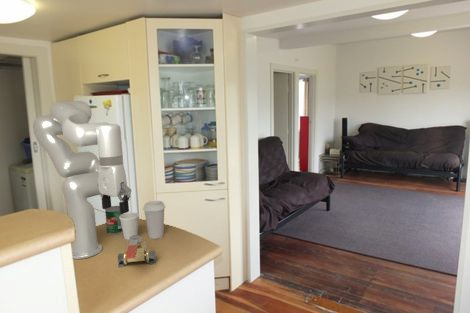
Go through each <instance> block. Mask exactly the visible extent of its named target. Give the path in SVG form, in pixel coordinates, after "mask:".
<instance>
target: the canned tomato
mask: <svg viewBox="0 0 470 313" xmlns="http://www.w3.org/2000/svg"><path fill="white" fill-rule="evenodd" d="M104 211H105V225H106V233H107V234H109V235H119V234H121V233H123V230H122V225H121V221H120V218H119V217H120V216H121V215H122V214H120V208H119V205H111V207H110V208H107V209H104Z"/></svg>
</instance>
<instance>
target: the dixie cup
mask: <svg viewBox="0 0 470 313" xmlns="http://www.w3.org/2000/svg"><path fill="white" fill-rule="evenodd" d="M139 217H140V213H138V212H127V213H124V214H122V215H121V216H120V217H119V218H120V221H121V225H122V230H123V232H122V233H123V235H122V236H123V238H124V239H125V240H129V238H130V237H131V236H134V235H139V233H138V232H139V219H140V218H139Z"/></svg>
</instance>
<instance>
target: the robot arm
mask: <svg viewBox="0 0 470 313" xmlns="http://www.w3.org/2000/svg"><path fill="white" fill-rule="evenodd" d="M92 111H93V110H92V109H91V107H90V105H89V104H88V103H87V102H85V101H81V100H77V101H76V100H74V101H72V100H70V101H69V100H68V101H67V100H66V101H63V100H62V101H57V102H55V103H53V104H52V105H51V107H50V109H49V114H45V115H40V116H38V117H36V118H35V119H34V120H33V123H32V131H33V134H34V137H35V139H36V140H37V143H38V144H39V145H40V146H41V147H42V149H44V150H45V152H46V153H47V155H48V156H49V158H50V160H51V162H52V164H53V166H54V168H55V171H56V172H57V173H58V175H59V177H61V178H65V179H64V180H63V181H62V183H61V188H62V189H61V191H62V193H63V194H62V195H63V196H64V200H65V205H66V211H67V217H68V216H69V217H71V218H72V219H73V221H74V224H75V230H76V241H75V242H74V243H72V252H73V258H72V259H75V260H80V259H89V258H91V257H94V256H96V255H98V254H100V253H101V252H102V250H103V245H102V244H101V243H98V234H97V225H96V213H95V208H94V206H93V204H92V203H90V202H89V200H88V199H89V198H91V197H96V196H99V197H100V199H101V207H102V210H105V209H107V208H110V207H111V206H112V199H111V198H112V197H113V198H116V197H117V198H118V200H119V202H118V206H119V208H120V214H125V213H130V209H129V206H130V205H129V202H130V198H131V194H132V188H130V187H129V186H128V182H127V180H128V179H127V174H126V170H125V166H124V156H123V154H124V152H123V144H122V143H123V142H122V141H123V140H122V131H121V129H122V128H121V126H120V124H119V123H118V124H117V123H109V122H103V121H102V122H90V121H91V119H92ZM58 136H64V138H65V140H66V141H65V140H64V139H62V138H60V137H58ZM69 143H70V144H71V145H73V146H75V147H80V148H81V147H83V148H84V147H89V146H90V147H91V146H97V150H98V151H97V154H98V157H97V155H96V154H94V153H93V152H91V151H80V152H75V151H73V149H72V148H71V146H70V144H69Z"/></svg>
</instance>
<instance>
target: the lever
mask: <svg viewBox="0 0 470 313" xmlns="http://www.w3.org/2000/svg"><path fill="white" fill-rule="evenodd" d="M141 242H143V236H142V235H140V234H138V235H134V236H131V237H130V238H129V242H128V243H130V245H129V246H128V245H127V247H128V248H127V247H126V249H127V251H126V250H125V251H126V259H130V258H135V257H136V253H137V248H138V244H140V243H141Z"/></svg>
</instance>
